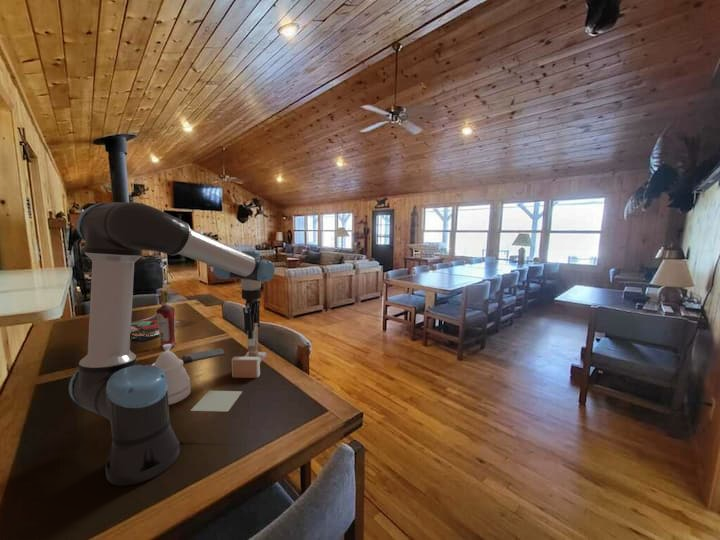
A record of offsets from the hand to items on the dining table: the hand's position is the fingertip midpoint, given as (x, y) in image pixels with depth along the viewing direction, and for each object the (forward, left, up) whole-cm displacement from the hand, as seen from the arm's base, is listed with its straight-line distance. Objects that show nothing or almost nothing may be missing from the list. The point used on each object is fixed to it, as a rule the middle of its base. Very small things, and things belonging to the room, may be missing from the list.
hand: (253, 343), depth 128 cm
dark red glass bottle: (+19, +48, -11) cm, 52 cm away
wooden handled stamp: (0, 0, -6) cm, 6 cm away
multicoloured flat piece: (+46, +75, -11) cm, 89 cm away
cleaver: (+7, +31, -11) cm, 34 cm away
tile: (-8, 0, -10) cm, 13 cm away
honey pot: (-23, +21, -11) cm, 33 cm away
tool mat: (-26, +3, -10) cm, 28 cm away
